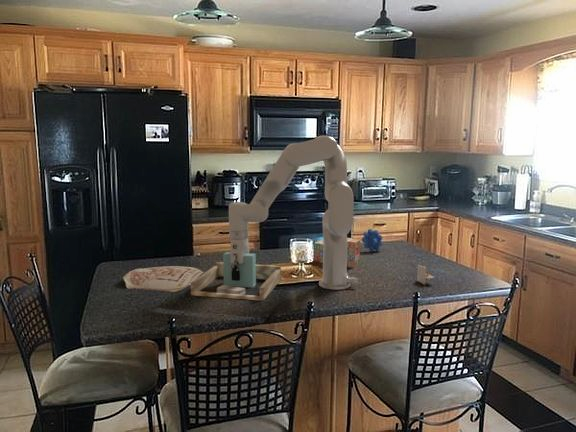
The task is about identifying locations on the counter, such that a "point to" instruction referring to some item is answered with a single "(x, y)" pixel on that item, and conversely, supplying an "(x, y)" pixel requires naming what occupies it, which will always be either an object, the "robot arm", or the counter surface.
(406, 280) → the counter surface
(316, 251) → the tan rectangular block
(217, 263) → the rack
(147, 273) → the poster
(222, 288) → the offcut upper
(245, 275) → the teal rectangular block
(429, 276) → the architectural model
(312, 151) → the robot arm
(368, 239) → the blue gear
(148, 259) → the counter surface
